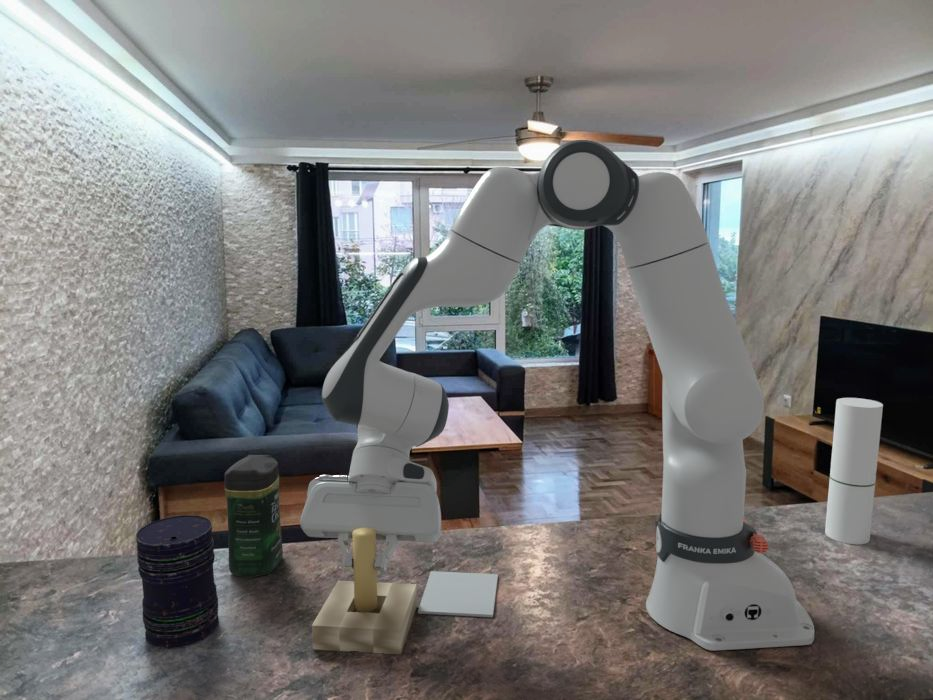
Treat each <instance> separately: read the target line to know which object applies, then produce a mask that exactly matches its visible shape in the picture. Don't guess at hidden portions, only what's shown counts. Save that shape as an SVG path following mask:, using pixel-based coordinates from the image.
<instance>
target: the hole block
mask: <svg viewBox="0 0 933 700" xmlns="http://www.w3.org/2000/svg"><path fill="white" fill-rule="evenodd" d="M417 589H418V587H417V584H416V583H398V582H397V583H396V582H378V581H377V607H376V608H375V609H374V610H372V611H368V612H361V611H358V610H356V609H355V604H354V580H337V582H336V584H334V587H333V588H332V590H331V591H330V594H329V595H328V597H327V599H326V600H325V602H324V604H323V605H322V607H321V609H320V611H319V612H318V615H316V618H315V619H314V621H313V623H312V625H311V634H312V636H311V637H312V639H311V640H312V649H313V650H317V651H337V652H350V651H359V652H358V653H367V652H372V653H371V654H383V653H384V654H386V655H387V654H388V655H402V653H403V649H404V647H405V643H406V641H407V639H408V638H407V637H408V635H409V632H410V629H411V625H412V622H413V619H414V616H415V614H416V610H417V608H418V593H417V592H418V590H417Z"/></svg>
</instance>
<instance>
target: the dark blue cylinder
mask: <svg viewBox="0 0 933 700" xmlns="http://www.w3.org/2000/svg"><path fill="white" fill-rule="evenodd" d="M135 539H136V540H135V541H136V557H137V558H136V560H137V564H138V570H137V571H138V573H139V577H140V578H141V582H142V584H141V585H142V592H143V594H142V595H143V597H142V601H141V602H142V614H141V615H142V622H143V625H144V630H145V632H144V635H145V641H146V643H147V644H148V645H149V646H151V647H153V648H157V649H161V650H176V649H182V648H185V647H190V646H193V645H195V644H197V643H200V642H203V641H204V640H206V639H207V638H209V637H210V636H212V635H213V633H215V632H216V630H217V629H218V627H219V624H220V621H219V620H220V618H219V597H218V591H217V585H216V583H215V575H214V563H215V552H214V550H215V543H214V542H215V541H214V537H213V525H212V521H211V520H210V519H208V518H207V517H204V516H200V515H193V514H189V515H187V514H186V515H183V514H182V515H175V516H169V517H165V518H162V519H158V520H154V521H153V522H149V523H148V524H146V525H144V526H142V527H141V528H139V530H138V531H137V532H136V535H135Z"/></svg>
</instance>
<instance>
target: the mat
mask: <svg viewBox="0 0 933 700" xmlns="http://www.w3.org/2000/svg"><path fill="white" fill-rule="evenodd" d="M498 579H499V574H497V573H480V572H474V573H473V572H460V571H459V572H458V571H457V572H455V571H434V570H433V571H432V570H431V571H430V573H429V576H428V579H427V582H426V585H425V588H424V591H423V594H422V597H421V600H420V604H419V607H418V609H417V614H420V615H421V614H422V615H440V616H456V617H457V616H461V617H479V618H494V611H495V605H496V597H497V596H496V595H497V587H498Z"/></svg>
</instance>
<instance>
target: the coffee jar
mask: <svg viewBox="0 0 933 700" xmlns="http://www.w3.org/2000/svg"><path fill="white" fill-rule="evenodd" d="M223 486H224V492H225V498H226V499H225V500H226V508H227V531H228V532H227V535H228V540H227V542H228V570H229V572H230V573H231V574H232V575H233V576H234V575H235V576H238V577H242V578H255V577H259V576H264V575H268V574H271V573H272V572H273V571H274V570H275V569H276V568H277V566H278V565H279V563H280V562H281V560H282V558H283V554H284V551H283V538H282V527H281V526H282V525H281V523H282V522H281V509H280V472H279V463H278V461H277V460H276V459H275V458H274V457H272V455H270V454H248V455H247V456H245V457H243V458H241V459H240V460H238V461H236V462H235V463H234V464H233V465H231V466H230V467H229V468H228V469H227V470H226V471H225V472H224V485H223Z"/></svg>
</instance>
